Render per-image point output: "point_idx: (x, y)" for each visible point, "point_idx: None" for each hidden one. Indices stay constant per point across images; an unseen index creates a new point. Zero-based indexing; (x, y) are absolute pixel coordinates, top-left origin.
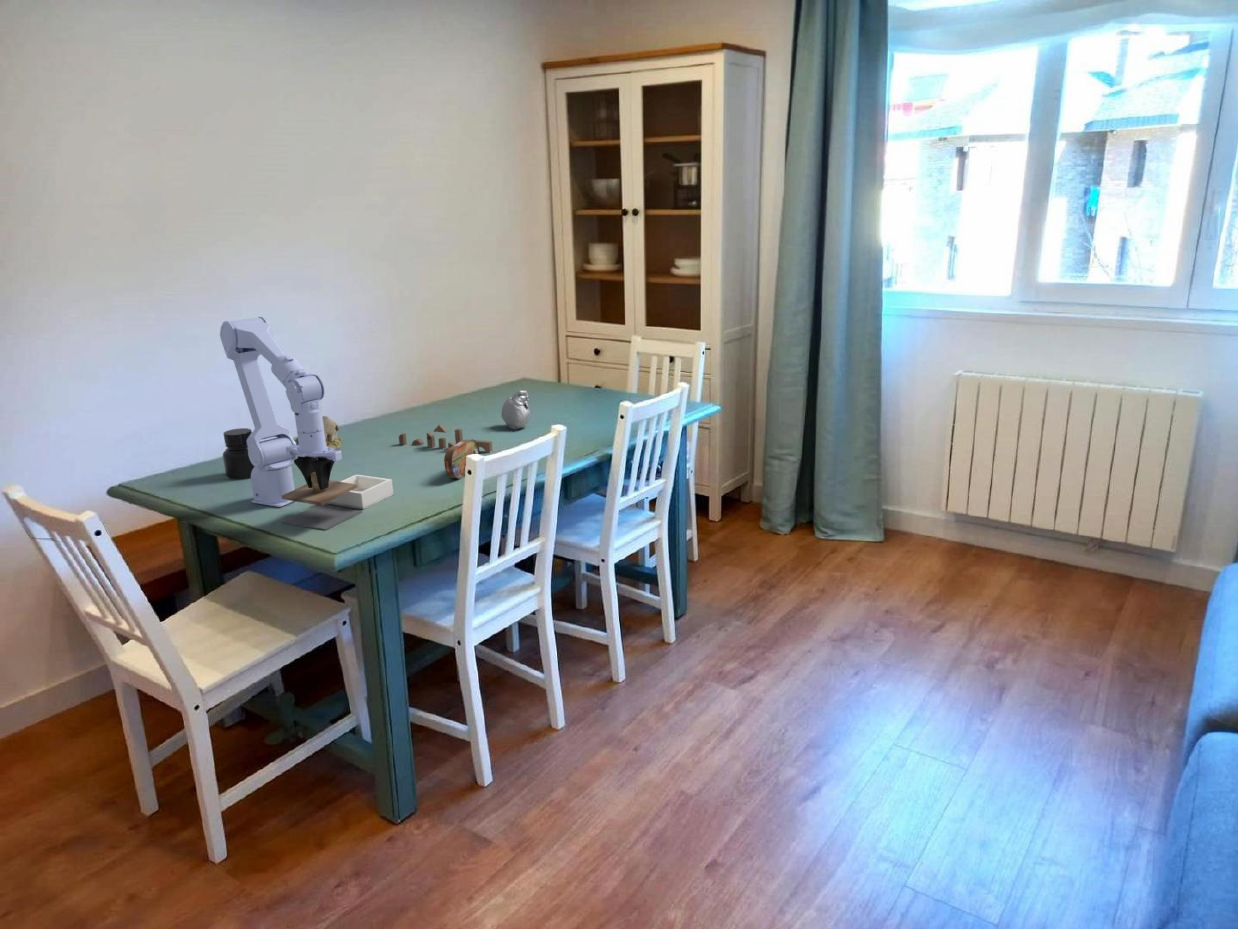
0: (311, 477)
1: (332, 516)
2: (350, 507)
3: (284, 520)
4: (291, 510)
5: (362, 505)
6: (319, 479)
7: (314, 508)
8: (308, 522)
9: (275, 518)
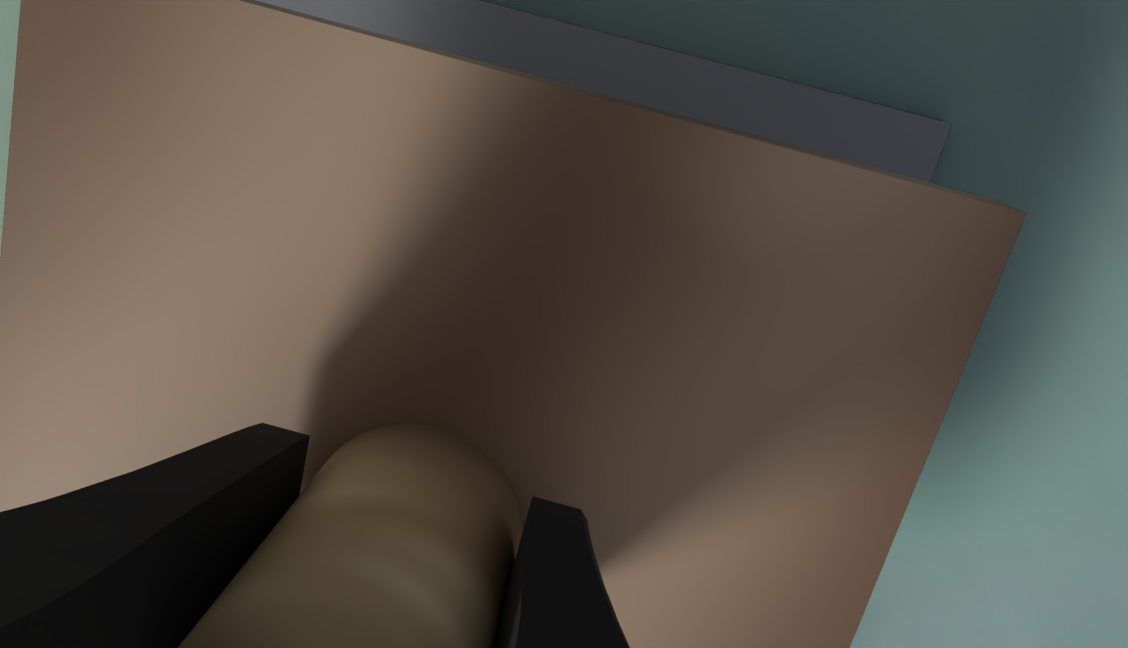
0: (396, 592)
1: None
2: None
3: (923, 157)
4: (1009, 520)
5: None
6: (125, 484)
7: None
8: None
9: (1104, 255)
